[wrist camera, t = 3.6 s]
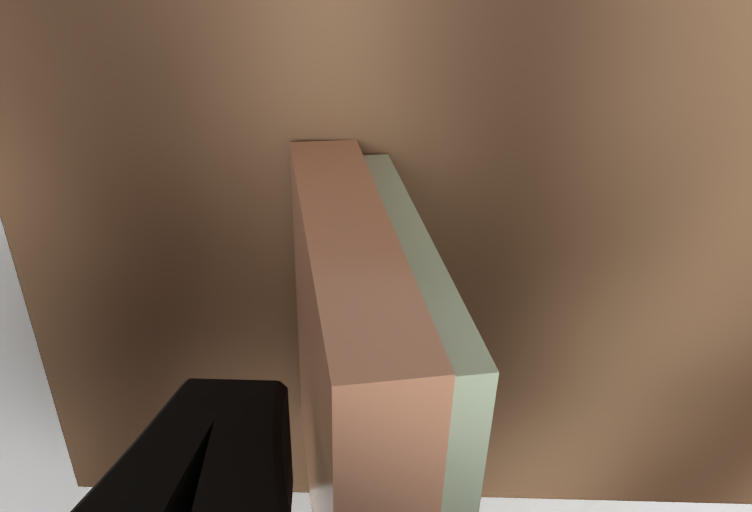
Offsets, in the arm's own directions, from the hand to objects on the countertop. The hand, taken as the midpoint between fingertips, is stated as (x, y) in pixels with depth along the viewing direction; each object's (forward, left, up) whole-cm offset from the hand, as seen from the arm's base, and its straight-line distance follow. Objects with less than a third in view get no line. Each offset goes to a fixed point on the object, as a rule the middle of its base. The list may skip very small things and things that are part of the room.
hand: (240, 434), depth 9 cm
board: (+3, 0, -5) cm, 6 cm away
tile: (+1, 0, -4) cm, 4 cm away
